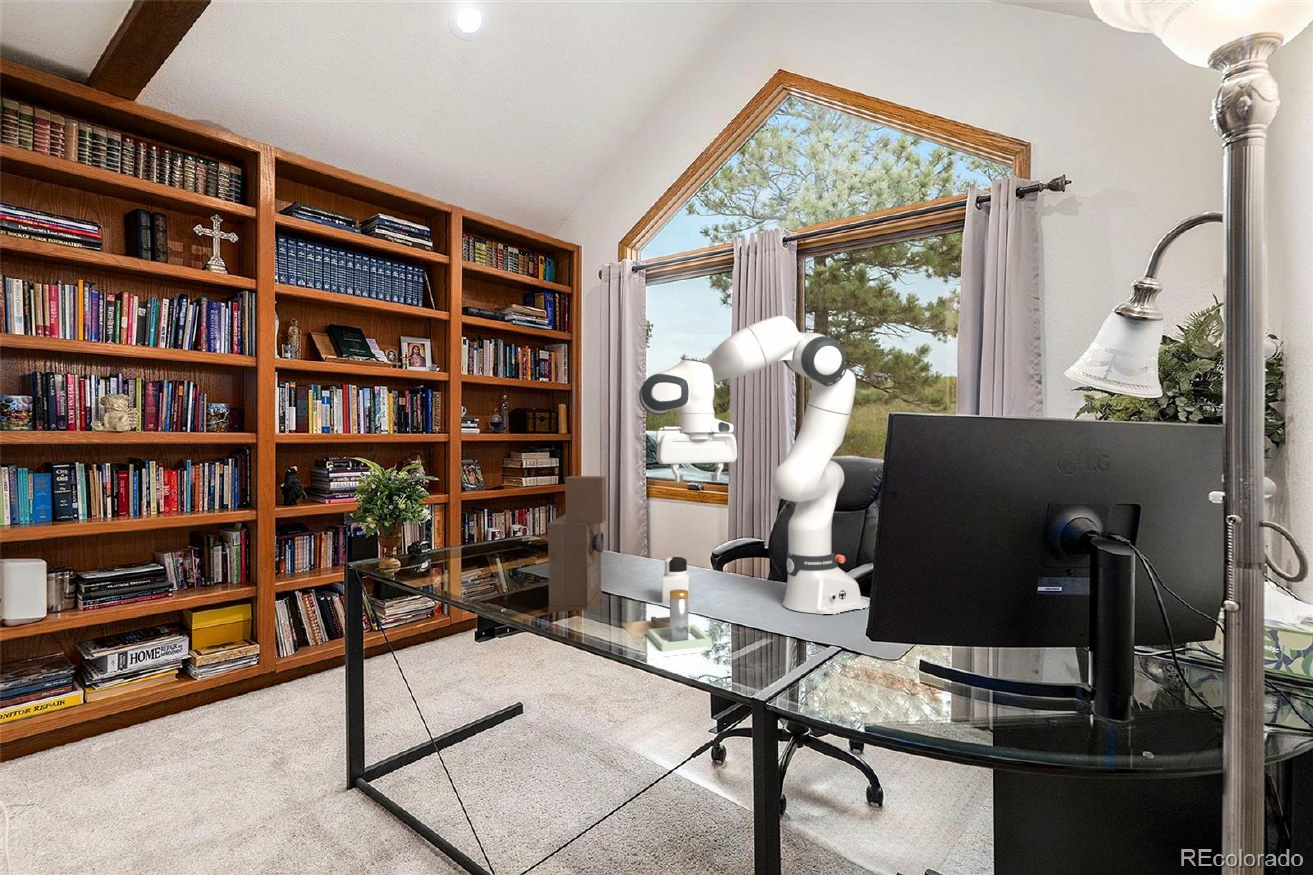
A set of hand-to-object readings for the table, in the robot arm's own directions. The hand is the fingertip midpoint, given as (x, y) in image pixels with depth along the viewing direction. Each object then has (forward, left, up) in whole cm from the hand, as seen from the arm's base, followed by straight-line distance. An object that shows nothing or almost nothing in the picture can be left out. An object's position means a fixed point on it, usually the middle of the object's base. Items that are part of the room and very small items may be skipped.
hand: (697, 481), depth 163 cm
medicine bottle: (0, -18, -34) cm, 39 cm away
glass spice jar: (+11, +17, -34) cm, 39 cm away
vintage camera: (+26, -23, -34) cm, 49 cm away
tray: (+11, +17, -34) cm, 40 cm away
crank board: (+13, +6, -34) cm, 37 cm away
